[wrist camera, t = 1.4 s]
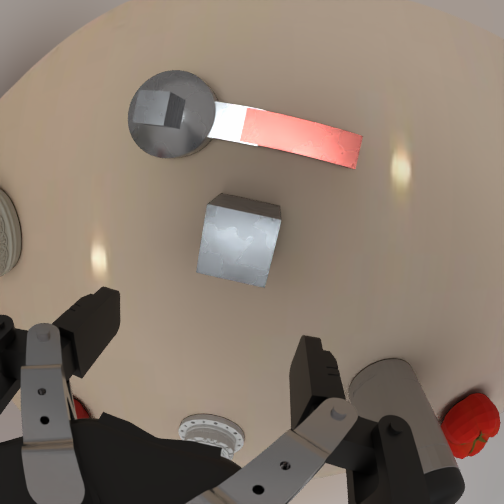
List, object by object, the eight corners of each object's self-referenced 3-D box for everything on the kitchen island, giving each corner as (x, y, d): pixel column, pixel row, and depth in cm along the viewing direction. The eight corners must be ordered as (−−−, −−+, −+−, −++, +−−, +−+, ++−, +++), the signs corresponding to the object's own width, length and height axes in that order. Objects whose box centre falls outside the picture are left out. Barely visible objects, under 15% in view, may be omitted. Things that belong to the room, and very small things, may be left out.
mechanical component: (251, 422, 38) (184, 404, 38) (249, 445, 34) (176, 427, 34) (236, 453, 41) (178, 439, 41) (233, 474, 37) (171, 458, 37)
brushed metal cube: (279, 205, 28) (281, 220, 22) (266, 260, 30) (264, 287, 24) (221, 193, 28) (207, 204, 22) (211, 248, 30) (196, 272, 24)
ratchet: (135, 151, 27) (98, 153, 20) (150, 75, 24) (117, 58, 18) (341, 192, 27) (362, 206, 20) (360, 113, 24) (385, 102, 18)
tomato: (466, 425, 38) (483, 458, 29) (422, 430, 38) (437, 469, 29) (497, 384, 34) (519, 416, 26) (455, 386, 34) (477, 426, 26)
